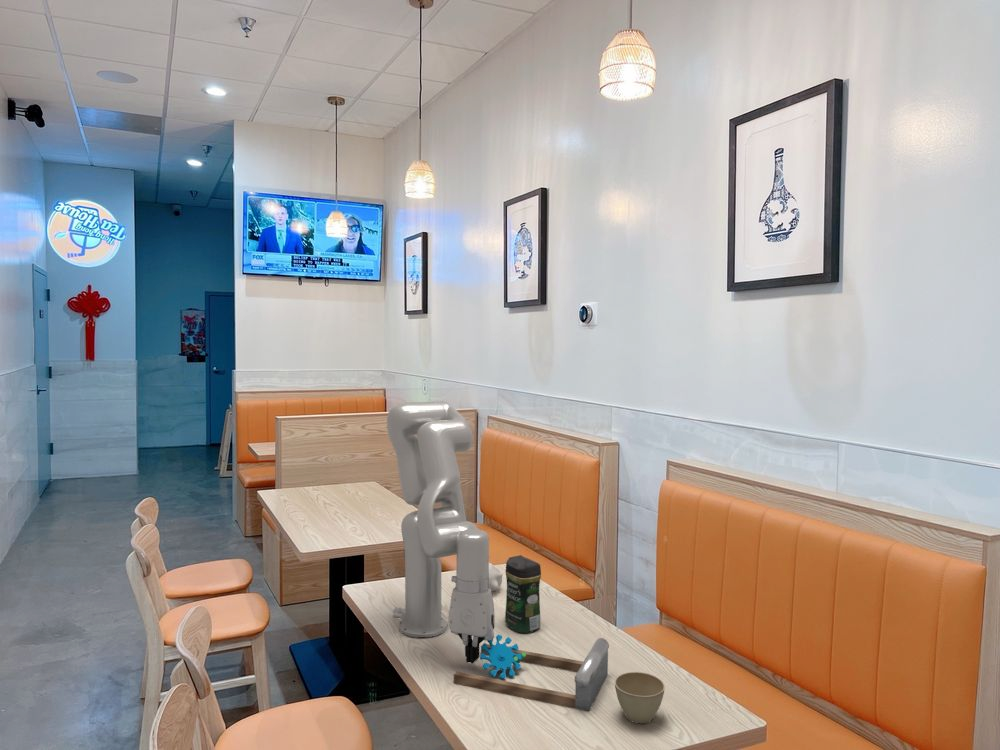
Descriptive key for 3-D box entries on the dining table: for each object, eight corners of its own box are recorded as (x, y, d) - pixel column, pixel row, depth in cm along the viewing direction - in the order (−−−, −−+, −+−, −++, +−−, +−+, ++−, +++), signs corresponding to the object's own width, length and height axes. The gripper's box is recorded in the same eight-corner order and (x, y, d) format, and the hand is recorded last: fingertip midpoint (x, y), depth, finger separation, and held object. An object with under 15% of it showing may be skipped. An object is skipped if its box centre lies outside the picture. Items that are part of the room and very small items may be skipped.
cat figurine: (468, 552, 221) (496, 559, 209) (486, 562, 225) (515, 569, 213) (456, 582, 218) (484, 590, 206) (475, 591, 222) (504, 599, 210)
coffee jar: (500, 624, 189) (500, 556, 188) (523, 617, 194) (524, 551, 193) (521, 636, 181) (521, 566, 180) (545, 629, 186) (546, 560, 185)
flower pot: (609, 705, 148) (609, 672, 148) (655, 703, 149) (656, 670, 148) (621, 732, 138) (621, 696, 138) (670, 730, 139) (671, 694, 138)
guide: (453, 683, 157) (453, 674, 157) (483, 651, 173) (483, 643, 173) (575, 708, 147) (575, 698, 147) (594, 672, 163) (594, 663, 162)
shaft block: (574, 709, 146) (574, 671, 146) (594, 671, 163) (595, 637, 163) (589, 712, 145) (589, 674, 145) (608, 673, 162) (609, 639, 161)
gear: (482, 676, 156) (479, 632, 163) (475, 686, 161) (473, 642, 167) (529, 677, 159) (524, 634, 166) (521, 686, 163) (517, 644, 170)
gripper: (436, 584, 163) (436, 661, 164) (496, 593, 157) (495, 673, 158) (450, 574, 170) (450, 648, 171) (508, 583, 164) (507, 659, 165)
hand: (472, 660), depth 164 cm, fingers closed
